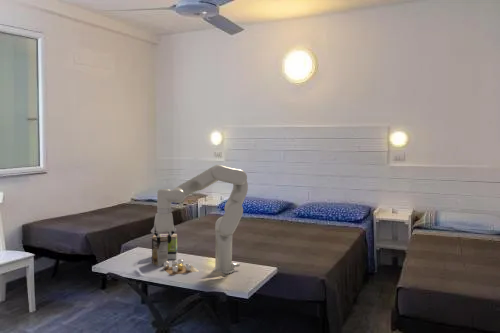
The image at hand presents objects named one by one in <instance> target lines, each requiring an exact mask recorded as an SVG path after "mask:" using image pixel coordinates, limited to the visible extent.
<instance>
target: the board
mask: <svg viewBox="0 0 500 333" xmlns="http://www.w3.org/2000/svg"><path fill="white" fill-rule="evenodd" d="M162 269H163V270H164V271H165V272H166V273H167V274H169V276H174V275H182V274H183V275H184V274H189V273H196V272H197V273H198V272H200V270H198V268H196V267H194V266H193V265H192V264H191V272H186V264H184V267H183V270H182V271H178V273H177V274H173V273H172V266H169V269H164V267H162Z"/></svg>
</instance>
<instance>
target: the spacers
mask: <svg viewBox="0 0 500 333" xmlns="http://www.w3.org/2000/svg"><path fill="white" fill-rule="evenodd" d="M175 264H183V267H184V265H186V272H191V265H192V264H191V263H187V264H185V262H184V258H183V259H182V258H180V259H178V260H177V259H172V261H171V267H172V273H173V274H176V275H178V274H177V273H178V265H175ZM169 267H170V261H164V265H163V268H164V269H169ZM164 269H163V270H164ZM191 273H192V272H191Z"/></svg>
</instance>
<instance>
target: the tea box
mask: <svg viewBox="0 0 500 333" xmlns="http://www.w3.org/2000/svg"><path fill="white" fill-rule="evenodd" d="M152 238H157V236H155V235H154V234H153V236H152V237H151V239H152ZM160 238H164V239H166V240H168V233H160ZM177 256H178V233H174V234H173V235H172V236H171V242H170V244H169V243H168V260H177Z"/></svg>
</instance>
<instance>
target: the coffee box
mask: <svg viewBox="0 0 500 333" xmlns="http://www.w3.org/2000/svg"><path fill="white" fill-rule="evenodd" d="M168 260H169V259H168V240H166V239H164V238H160V244H158V243H157V238H152V237H151V263H152V264H153V265H154V266H157V267H164V261H168Z"/></svg>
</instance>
